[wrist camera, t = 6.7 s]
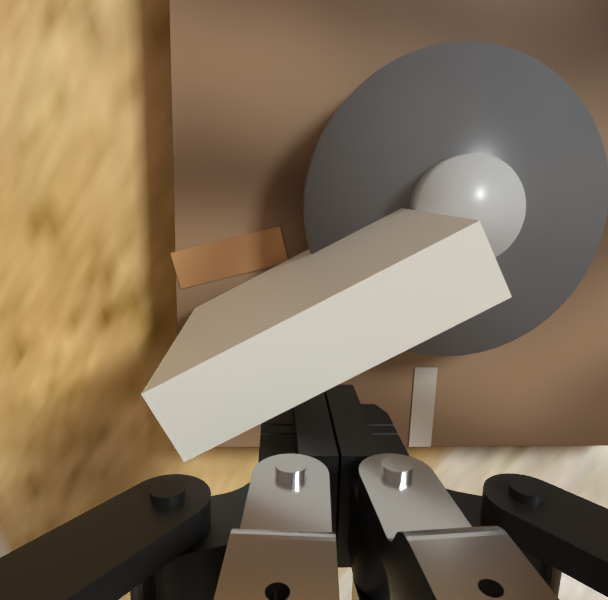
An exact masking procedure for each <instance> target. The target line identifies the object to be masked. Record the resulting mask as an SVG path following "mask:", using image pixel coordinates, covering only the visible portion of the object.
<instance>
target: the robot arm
mask: <svg viewBox="0 0 608 600" xmlns="http://www.w3.org/2000/svg"><path fill="white" fill-rule="evenodd" d="M338 567H352V572H353V584H352V600H559V599H558V592H559V586H560V579H561V573H562V572H563V573H565V574H567V575H568V576H570V577H572V578H574V579H576V580H578V581H579V582H581V583H583V584H585V585H587V586H589V587H590V588H592V589H594V590H596V591H598V592H599V593H601V594H603V595H605V596H607V597H608V509H607V508H604V507H602V506H600V505H597V504H595V503H593V502H591V501H588V500H586V499H584V498H581V497H579V496H577V495H574V494H572V493H570V492H567V491H565V490H563V489H561V488H558V487H556V486H554V485H551V484H549V483H547V482H544V481H542V480H539V479H536V478H533V477H530V476H525V475H519V474H499V475H495V476H492V477H490V478H488V479H487V480H486V481H485V483H484V487H483V495H482V496H478V495H472V494H467V493H461V492H456V491H452V490H448V489H445V487H444V486H443V484H442V483H441V482H440V480H439V479H438V477H437V476H436V474H435V473H434V472H433V470H432V469H431V468H430V467H429V466H428V465H427V464H425V463H424V462H422V461H420V460H418V459H416V458H413V457H410V456H409V455H408V453H407V451H406V449H405V447H404V445H403V443H402V441H401V439H400V437H399V435H398V433H397V431H396V429H395V426H393V422H392V420H391V418H390V416H389V414H388V413H387V412H385V411H384V410H383V409H381V408H380V407H378V406H377V405H375V404H361V403H360V401H359V398H358V396H357V393H356V391H355V388H354V386H353V385H337V386H335V387H333V388H331V389H329V390H327V391H325V392H323V393H321V394H319V395H317V396H315V397H313V398H311V399H309V400H307V401H305V402H303V403H301V404H299V405H297V406H295V407H293V408H291V409H289V410H287V411H285V412H283V413H281V414H279V415H277V416H275V417H273V418H271V419H269V420H267V421H265V422H263V423H261V432H260V448H259V463H258V464H257V465H256V466H255V467H254V469H253V472H252V477H251V481H250V483H249V484H247V485H245V486H244V487H242V488H240V489H238V490H235V491H232V492H229V493H225V494H220V495H215V496H211V491H210V488H209V487H208V485H207V484H206V483H205V482H204V481H202V480H201V479H199V478H196V477H193V476H189V475H182V474H171V475H163V476H158V477H154V478H151V479H148V480H146V481H144V482H142V483H140V484H138V485H136V486H134V487H132V488H130V489H128V490H126V491H125V492H123V493H121V494H119V495H117V496H115V497H113V498H112V499H110V500H108V501H106V502H104V503H102V504H100V505H98V506H97V507H95V508H93V509H91V510H89V511H87V512H85V513H83V514H82V515H80V516H78V517H76V518H74V519H72V520H70V521H68V522H67V523H65V524H63V525H61V526H59V527H57V528H55V529H53V530H52V531H50V532H48V533H46V534H44V535H42V536H40V537H39V538H37V539H35V540H33V541H31V542H29V543H27V544H25V545H24V546H22V547H20V548H18V549H16V550H14V551H12V552H10V553H9V554H7V555H5V556H3V557H1V558H0V600H118V599H120V598H121V597H122V596H124V595H125V594H127V593H128V592H129V591H130V594H131V600H339V584H338Z"/></svg>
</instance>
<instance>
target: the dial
mask: <svg viewBox="0 0 608 600" xmlns="http://www.w3.org/2000/svg"><path fill="white" fill-rule="evenodd" d="M302 207H303V225H304V232H305V238H306V242H307V245H308V250H306V251H304V252H302V253H300V254H298V255H296V256H295V257H293V258H291V259H289V260H287V261H285V262H283V263H281V264H279V265H277V266H275V267H273V268H271V269H269V270H268V271H266V272H264V273H262V274H260V275H258V276H256V277H254V278H252V279H250V280H248V281H246V282H244V283H242V284H241V285H239V286H237V287H235V288H233V289H231V290H229V291H227V292H225V293H223V294H221V295H219V296H217V297H215V298H214V299H212V300H210V301H208V302H206V303H204V304H202V305H200V306H198V307H196V308H195V309H194V310H193V312H192V314H191V315H190V317H189V318H188V320H187V322H186V323H185V325H184V326H183V328H182V330H181V331H180V333H179V334H178V336H177V338H176V339H175V341H174V342H173V344H172V346H171V347H170V349H169V350H168V352H167V353H166V355H165V357H164V358H163V360H162V361H161V363H160V365H159V366H158V368H157V369H156V371H155V373H154V374H153V376H152V377H151V379H150V381H149V382H148V384H147V385H146V387H145V389H144V390H143V392H142V393H141V395H142V397H143V398H144V400H145V401H146V403H147V405H148V406H149V408H150V409H151V411H152V412H153V414H154V416H155V417H156V419H157V420H158V422H159V423H160V425H161V427H162V428H163V430H164V431H165V433H166V434H167V436H168V438H169V439H170V441H171V442H172V444H173V445H174V447H175V449H176V450H177V452H178V453H179V455H180V456H181V458H182V460H183V461H184V462H186V461H188V460H190V459H192V458H194V457H196V456H198V455H200V454H202V453H204V452H206V451H208V450H210V449H212V448H214V447H216V446H218V445H220V444H222V443H224V442H226V441H227V440H229V439H231V438H233V437H235V436H237V435H239V434H241V433H243V432H245V431H247V430H249V429H251V428H253V427H255V426H257V425H259V424H261V423H263V422H265V421H267V420H269V419H271V418H273V417H275V416H277V415H279V414H281V413H283V412H285V411H287V410H289V409H291V408H293V407H295V406H297V405H299V404H301V403H303V402H305V401H307V400H309V399H311V398H313V397H315V396H317V395H319V394H321V393H323V392H325V391H327V390H329V389H331V388H333V387H335V386H337V385H339V384H341V383H343V382H345V381H347V380H349V379H351V378H353V377H354V376H356V375H358V374H360V373H362V372H364V371H366V370H368V369H370V368H372V367H374V366H376V365H378V364H380V363H382V362H384V361H386V360H388V359H390V358H392V357H394V356H396V355H398V354H400V353H402V352H404V351H411V352H415V353H420V354H424V355H434V356H462V355H468V354H474V353H480V352H484V351H487V350H491V349H494V348H497V347H500V346H502V345H505V344H507V343H509V342H512V341H514V340H516V339H518V338H520V337H521V336H523V335H525V334H527V333H528V332H530V331H532V330H533V329H535V328H536V327H537V326H539V325H540V324H541V323H543V322H544V321H545V320H547V319H548V318H549V317H550V316H551V315H552V314H553V313H554V312H555V311H556V310H558V309H559V308H560V307H561V306H562V305H563V304H564V302H565V301H566V300H567V299H568V298H569V296H570V295H571V294H572V293H573V292H574V291H575V289H576V288H577V286H578V285H579V283H580V282H581V280H582V279H583V277H584V276H585V274H586V272H587V270H588V268H589V266H590V265H591V263H592V261H593V259H594V257H595V254H596V252H597V249H598V246H599V244H600V241H601V238H602V235H603V231H604V226H605V222H606V218H607V211H608V166H607V159H606V154H605V150H604V147H603V143H602V139H601V136H600V134H599V131H598V129H597V127H596V124H595V122H594V120H593V117H592V116H591V114H590V112H589V111H588V109H587V107H586V106H585V104H584V102H583V101H582V99H581V98H580V97H579V96H578V95H577V93H576V92H575V91H574V90H573V88H572V87H571V86H570V85H569V84H568V83H567V82H566V81H565V80H564V79H563V78H562V77H561V76H559V75H558V74H557V73H556V72H555V71H554V70H552V69H551V68H549V67H548V66H546V65H545V64H543V63H542V62H540V61H539V60H537V59H535V58H533V57H531V56H529V55H527V54H525V53H523V52H521V51H519V50H515V49H512V48H509V47H505V46H502V45H499V44H492V43H485V42H479V41H456V42H449V43H442V44H436V45H432V46H429V47H425V48H422V49H418V50H415V51H413V52H411V53H408V54H406V55H404V56H402V57H399V58H397V59H395V60H393V61H392V62H390V63H388V64H387V65H385V66H384V67H382V68H380V69H379V70H377V71H376V72H375V73H373V74H372V75H371V76H370V77H368V78H367V79H366V80H365V81H364V82H362V83H361V84H360V85H359V86H358V87H357V88H356V89H355V90H354V91H353V92H352V93H351V94H350V95H349V97H348V98H347V99H346V100H345V101H344V102H343V103H342V104H341V105H340V107H339V108H338V109H337V110H336V112H335V113H334V115H333V116H332V117H331V119H330V120H329V122H328V123H327V124H326V126H325V128H324V130H323V132H322V133H321V135H320V137H319V139H318V141H317V143H316V145H315V148H314V151H313V153H312V156H311V158H310V161H309V165H308V169H307V173H306V177H305V182H304V190H303V199H302Z"/></svg>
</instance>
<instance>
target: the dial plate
mask: <svg viewBox="0 0 608 600" xmlns="http://www.w3.org/2000/svg"><path fill="white" fill-rule="evenodd" d="M169 5H170V46H171V88H172V129H173V171H174V212H175V252H172V253H170V254H171V257H172V260H173V264H174V267H175V270H176V295H177V336H178V334H179V333H180V331H181V330H182V328H183V326H184V325H185V323H186V322H187V320H188V318H189V317H190V315H191V314H192V312H193V310H194V309H195V308H196V307H198V306H200V305H202V304H204V303H206V302H208V301H210V300H212V299H214V298H215V297H217V296H219V295H221V294H223V293H225V292H227V291H229V290H231V289H233V288H235V287H237V286H239V285H241V284H242V283H244V282H246V281H248V280H250V279H252V278H254V277H256V276H258V275H260V274H262V273H264V272H266V271H268V270H269V269H271V268H273V267H275V266H277V265H279V264H281V263H283V262H285V261H287V260H289V259H291V258H293V257H295V256H296V255H298V254H300V253H302V252H304V251H306V250H308V245H307V242H306V238H305V232H304V225H303V207H302V199H303V190H304V182H305V177H306V173H307V169H308V165H309V161H310V158H311V156H312V153H313V151H314V148H315V145H316V143H317V141H318V139H319V137H320V135H321V133H322V132H323V130H324V128H325V126H326V124H327V123H328V122H329V120H330V119H331V117H332V116H333V115H334V113H335V112H336V110H337V109H338V108H339V107H340V105H341V104H342V103H343V102H344V101H345V100H346V99H347V98H348V97H349V95H350V94H351V93H352V92H353V91H354V90H355V89H356V88H357V87H358V86H359V85H360V84H361V83H362V82H364V81H365V80H366V79H367V78H368V77H370V76H371V75H372V74H373V73H375V72H376V71H377V70H379V69H380V68H382V67H384V66H385V65H387V64H388V63H390V62H392V61H393V60H395V59H397V58H399V57H402V56H404V55H406V54H408V53H411V52H413V51H415V50H418V49H422V48H425V47H429V46H432V45H436V44H442V43H449V42H456V41H479V42H485V43H492V44H499V45H502V46H505V47H509V48H512V49H515V50H519V51H521V52H523V53H525V54H527V55H529V56H531V57H533V58H535V59H537V60H539V61H540V62H542V63H543V64H545V65H546V66H548V67H549V68H551V69H552V70H554V71H555V72H556V73H557V74H558V75H559V76H561V77H562V78H563V79H564V80H565V81H566V82H567V83H568V84H569V85H570V86H571V87H572V88H573V90H574V91H575V92H576V93H577V95H578V96H579V97H580V98H581V99H582V101H583V102H584V104H585V106H586V107H587V109H588V111H589V112H590V114H591V116H592V117H593V120H594V122H595V124H596V127H597V129H598V131H599V134H600V136H601V139H602V143H603V147H604V150H605V154H606V159H607V166H608V0H169ZM339 385H353V386H354V388H355V391H356V393H357V396H358V398H359V401H360V403H361V404H375V405H377V406H378V407H380V408H381V409H383V410H384V411H385V412H387V413H388V414H389V416H390V418H391V420H392V422H393V426H395V429H396V431H397V433H398V435H399V437H400V439H401V441H402V443H403V445H404V446H409V447H431V446H579V445H608V211H607V218H606V222H605V226H604V231H603V235H602V238H601V241H600V244H599V246H598V249H597V252H596V254H595V257H594V259H593V261H592V263H591V265H590V266H589V268H588V270H587V272H586V274H585V276H584V277H583V279H582V280H581V282H580V283H579V285H578V286H577V288H576V289H575V291H574V292H573V293H572V294H571V295H570V296H569V298H568V299H567V300H566V301H565V302H564V304H563V305H562V306H561V307H560V308H559V309H558V310H556V311H555V312H554V313H553V314H552V315H551V316H550V317H549V318H548V319H547V320H545V321H544V322H543V323H541V324H540V325H539V326H537V327H536V328H535V329H533V330H532V331H530V332H528V333H527V334H525V335H523V336H521V337H520V338H518V339H516V340H514V341H512V342H509V343H507V344H505V345H502V346H500V347H497V348H494V349H491V350H487V351H484V352H480V353H474V354H468V355H462V356H434V355H424V354H420V353H415V352H411V351H404V352H402V353H400V354H398V355H396V356H394V357H392V358H390V359H388V360H386V361H384V362H382V363H380V364H378V365H376V366H374V367H372V368H370V369H368V370H366V371H364V372H362V373H360V374H358V375H356V376H354V377H353V378H351V379H349V380H347V381H345V382H343V383H341V384H339ZM260 432H261V424H259V425H257V426H255V427H253V428H251V429H249V430H247V431H245V432H243V433H241V434H239V435H237V436H235V437H233V438H231V439H229V440H227V441H226V442H224V443H222V444H220V445H218V446H216V447H260Z"/></svg>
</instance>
